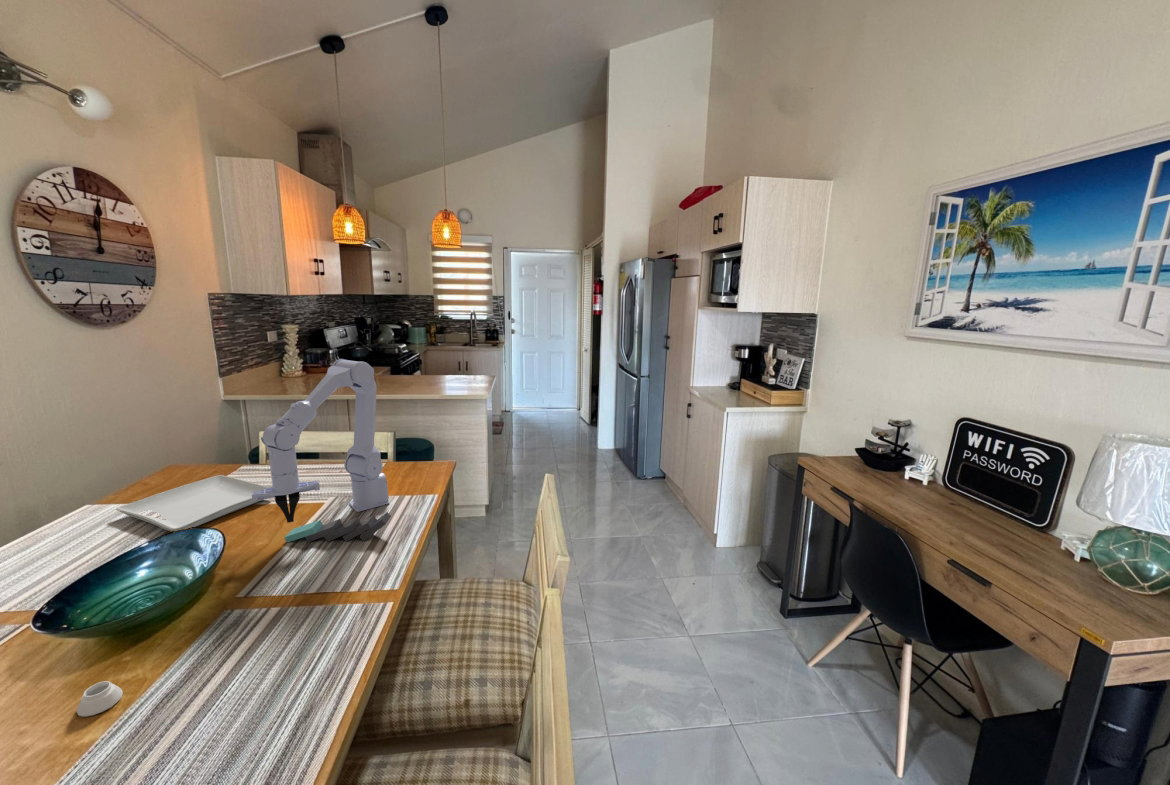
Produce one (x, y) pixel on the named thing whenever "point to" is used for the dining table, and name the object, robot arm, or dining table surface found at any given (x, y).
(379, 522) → the tile
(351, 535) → the tile
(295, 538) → the tile
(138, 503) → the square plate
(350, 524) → the tile
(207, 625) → the dining table surface
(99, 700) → the small white bowl
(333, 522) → the tile
